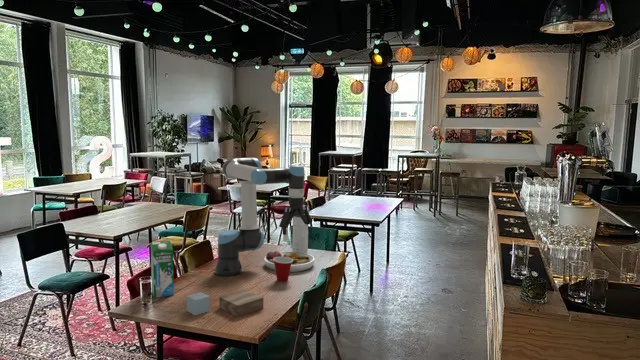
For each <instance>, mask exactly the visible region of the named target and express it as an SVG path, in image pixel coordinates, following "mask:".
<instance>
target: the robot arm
mask: <svg viewBox="0 0 640 360" xmlns="http://www.w3.org/2000/svg"><path fill="white" fill-rule="evenodd" d="M221 170H222V173H223V175H224V176H225V177H226V178H229V179H233V180H234V179H237V182H239V184H240V191H241V192H240V193H241V195H240V197H241V201H240V202H241V225H240V227H239V230H238V229H227V230H223V231H221V232H220V233H219V234H218V236H217V261H216V265H215V268H214V274H215V275H218V276H221V277H231V276H237V275H239V274H242V273H243V266H242V264H241V261H240V260H241V259H240V253H243V252H244V253H245V252H250V251H253V252H254V251H256V250H259V249H261V248H262V247H263V246H264V243H265V234H264V231H263V230H262V229H261V228H260V226H259V225H258V216H257V215H258V210H257V207H258V205H257V185H258V186H261V185H270V184H271V185H273V184H288V205H289V207H284V210H283V213H282V217H281V220H280V222H279V225H278V227H279V228H281V229H282V235H283V237H282V238H283V239H282V241H283V242H289V228H288V227H289V225H290V223H291V221H293V217H294V216H297V215H299V216H300V217H301V219H302V221H303V222H304V223H305V224H303V237H308V238H309V225H310V224H311V223H312V222H313V221H312V219H311V216H310V212H309V210H308V209H309V207H308V205H307V204H306V205H305V204H304V203H305V198H304V196H305V175H306V174H305V167H304V166H303V165H290V166H289V167H288V168H286V167H277V168H263V166H262V163H261V161H260V160H259V159H258V158H257V157H232V158H229V159H227V160H225V161H224V163H223V165H222V168H221ZM308 219H309V220H308Z"/></svg>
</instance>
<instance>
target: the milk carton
mask: <svg viewBox="0 0 640 360" xmlns="http://www.w3.org/2000/svg"><path fill="white" fill-rule="evenodd" d="M150 269H151V272H150V273H151V277H150V279H151V278H152V284H151V294H152V296H153V299H156V298H162V297H168V296H169V297H170V296H174V293H175V290H174V287H175V286H174V284H175V283H174V249H173V245H172V242H171V240H165V241H152V242H150Z"/></svg>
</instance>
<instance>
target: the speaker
mask: <svg viewBox="0 0 640 360" xmlns="http://www.w3.org/2000/svg"><path fill="white" fill-rule="evenodd" d="M308 220H309V219H308ZM303 224H305V223H304V222H303V221H302V219H301V217H300V216H299V215H297V216H294V217H293V218H292V244H291V245H292V246H291V247H292V249H291V250H292V251H291V252H301V253H306V254H309V248H308V247H309V236H308V237H303Z"/></svg>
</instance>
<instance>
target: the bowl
mask: <svg viewBox="0 0 640 360" xmlns="http://www.w3.org/2000/svg"><path fill="white" fill-rule="evenodd" d="M275 257H288V258H291V259H293V262H292V264H291V267H290V273H297V272H303V271H305V270H308V269H311V268H312V267H313V265H314V263H315V257H314V256H313V255H311V254H309V253H308V254H306V253H301V252H292V251H278V250H275V251H269V252H268V253H267V254H266V255H265V256H264V259H263V260H264V265H265V267H267V268H268V269H270V270H272V271H275V272H276V270H275V264H274V260H273V258H275Z"/></svg>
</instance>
